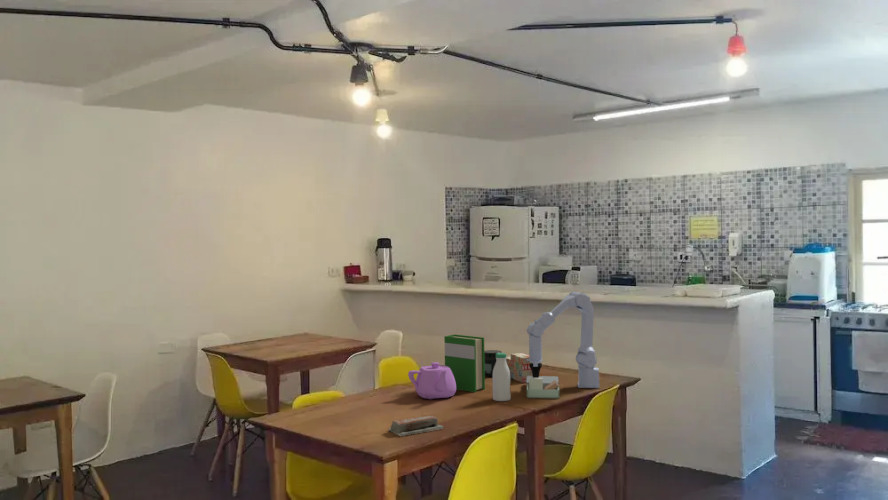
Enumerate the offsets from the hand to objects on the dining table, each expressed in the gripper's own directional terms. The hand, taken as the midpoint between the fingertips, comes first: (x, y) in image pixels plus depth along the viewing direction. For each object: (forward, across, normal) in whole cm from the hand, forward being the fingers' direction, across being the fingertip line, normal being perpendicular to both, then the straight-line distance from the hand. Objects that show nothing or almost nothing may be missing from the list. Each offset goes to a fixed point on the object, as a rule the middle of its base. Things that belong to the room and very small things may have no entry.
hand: (535, 379), depth 326 cm
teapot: (+5, +14, -44) cm, 46 cm away
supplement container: (+5, -34, -22) cm, 41 cm away
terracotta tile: (+3, +6, +7) cm, 10 cm away
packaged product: (+6, +67, -44) cm, 81 cm away
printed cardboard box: (+5, -27, -9) cm, 29 cm away
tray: (+5, +9, +3) cm, 10 cm away
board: (+5, -5, +3) cm, 8 cm away
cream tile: (+1, +4, 0) cm, 4 cm away
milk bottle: (+5, +18, -15) cm, 24 cm away
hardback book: (+5, -3, -33) cm, 33 cm away
